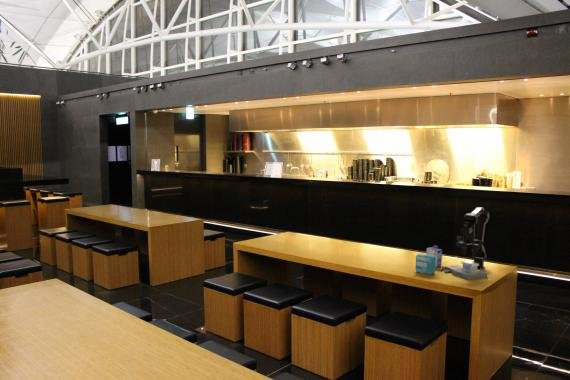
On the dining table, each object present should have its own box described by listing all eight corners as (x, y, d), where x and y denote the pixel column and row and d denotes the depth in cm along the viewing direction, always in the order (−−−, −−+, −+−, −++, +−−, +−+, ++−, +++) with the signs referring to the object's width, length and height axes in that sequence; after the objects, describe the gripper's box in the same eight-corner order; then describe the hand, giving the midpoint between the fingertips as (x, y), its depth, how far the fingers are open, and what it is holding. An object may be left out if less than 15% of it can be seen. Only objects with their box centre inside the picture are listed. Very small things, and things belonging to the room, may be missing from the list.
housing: (468, 269, 321) (468, 260, 321) (478, 272, 313) (478, 263, 313) (461, 270, 319) (461, 261, 318) (471, 273, 311) (471, 264, 310)
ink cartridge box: (442, 266, 339) (442, 246, 337) (436, 267, 336) (437, 247, 334) (430, 263, 347) (431, 243, 346) (425, 264, 344) (426, 244, 343)
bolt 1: (441, 269, 332) (441, 265, 332) (444, 269, 331) (445, 266, 330) (438, 270, 328) (438, 267, 328) (441, 271, 326) (441, 268, 326)
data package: (415, 271, 325) (415, 254, 324) (417, 270, 329) (418, 253, 327) (432, 274, 318) (433, 257, 317) (435, 273, 321) (435, 255, 320)
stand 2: (469, 271, 326) (470, 267, 326) (487, 277, 313) (487, 272, 312) (451, 274, 320) (452, 269, 320) (468, 280, 306) (469, 275, 306)
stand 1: (456, 267, 337) (457, 264, 336) (468, 271, 327) (469, 268, 326) (444, 269, 332) (444, 266, 332) (456, 273, 322) (456, 270, 322)
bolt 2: (450, 271, 326) (450, 268, 326) (453, 272, 324) (453, 269, 324) (444, 272, 324) (444, 268, 323) (446, 273, 322) (446, 269, 321)
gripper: (471, 229, 329) (470, 251, 331) (450, 232, 321) (449, 254, 323) (483, 232, 319) (482, 255, 321) (462, 235, 311) (462, 258, 313)
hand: (469, 256), depth 320 cm, fingers open, 9 cm apart
